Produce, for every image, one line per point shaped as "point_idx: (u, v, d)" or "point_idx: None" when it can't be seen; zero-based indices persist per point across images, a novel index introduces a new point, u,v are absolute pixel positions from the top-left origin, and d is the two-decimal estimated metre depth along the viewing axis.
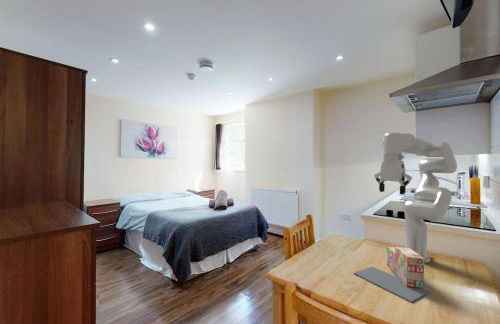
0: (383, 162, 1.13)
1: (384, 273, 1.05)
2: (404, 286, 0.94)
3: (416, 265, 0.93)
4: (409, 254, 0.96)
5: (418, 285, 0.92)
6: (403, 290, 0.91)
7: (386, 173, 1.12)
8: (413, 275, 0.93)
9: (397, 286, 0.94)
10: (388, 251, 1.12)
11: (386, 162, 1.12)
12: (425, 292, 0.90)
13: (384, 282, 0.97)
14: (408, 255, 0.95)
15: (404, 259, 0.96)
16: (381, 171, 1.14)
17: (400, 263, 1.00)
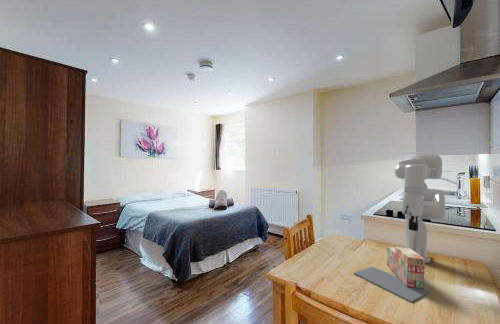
0: (415, 196, 1.03)
1: (384, 273, 1.05)
2: (404, 286, 0.94)
3: (417, 265, 0.93)
4: (410, 254, 0.96)
5: (418, 285, 0.92)
6: (403, 290, 0.91)
7: (417, 208, 1.04)
8: (413, 276, 0.93)
9: (397, 286, 0.94)
10: (388, 251, 1.12)
11: (418, 196, 1.04)
12: (425, 292, 0.90)
13: (384, 282, 0.97)
14: (409, 255, 0.95)
15: (404, 259, 0.96)
16: (414, 206, 1.03)
17: (400, 263, 1.00)
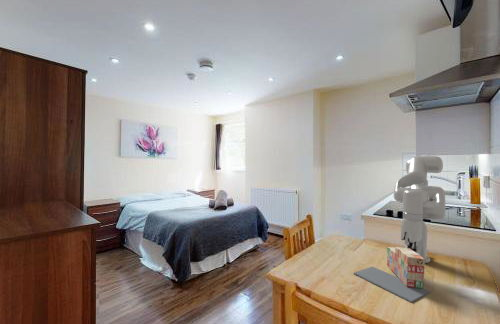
0: (414, 223, 1.03)
1: (384, 273, 1.05)
2: (404, 286, 0.94)
3: (416, 265, 0.93)
4: (409, 254, 0.96)
5: (418, 285, 0.92)
6: (403, 290, 0.91)
7: (416, 235, 1.03)
8: (413, 275, 0.93)
9: (397, 286, 0.94)
10: (388, 251, 1.12)
11: (416, 223, 1.03)
12: (425, 292, 0.90)
13: (384, 282, 0.97)
14: (408, 255, 0.95)
15: (404, 259, 0.96)
16: (412, 233, 1.02)
17: (400, 263, 1.00)
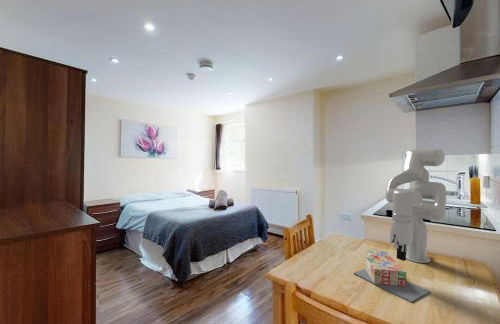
0: (403, 225, 0.99)
1: None
2: None
3: (382, 276, 0.95)
4: (371, 274, 0.99)
5: (403, 276, 0.94)
6: (403, 290, 0.91)
7: (405, 237, 0.99)
8: (393, 280, 0.94)
9: (397, 286, 0.94)
10: None
11: (406, 225, 0.99)
12: (425, 292, 0.90)
13: None
14: (372, 278, 0.97)
15: None
16: (401, 236, 0.98)
17: None
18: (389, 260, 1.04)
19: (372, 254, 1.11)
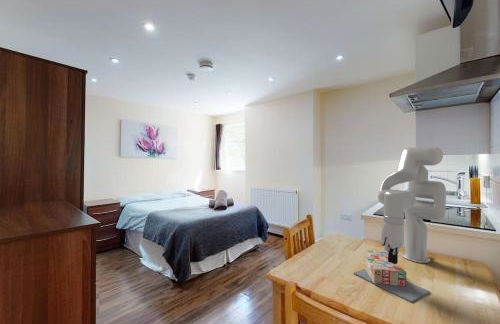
0: (394, 227, 0.95)
1: None
2: None
3: (382, 276, 0.95)
4: (371, 274, 0.99)
5: (403, 276, 0.94)
6: (403, 290, 0.91)
7: (397, 240, 0.96)
8: (393, 280, 0.94)
9: (397, 286, 0.94)
10: None
11: (397, 227, 0.96)
12: (425, 292, 0.90)
13: None
14: (372, 278, 0.97)
15: None
16: (392, 238, 0.95)
17: None
18: None
19: (372, 254, 1.11)
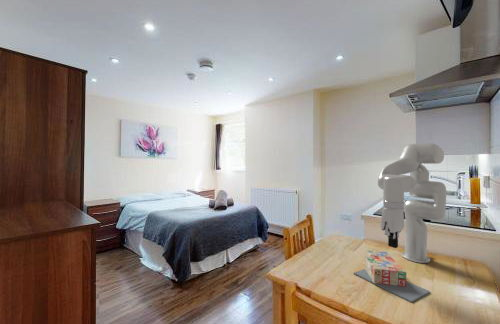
0: (394, 211, 0.95)
1: None
2: None
3: (382, 276, 0.95)
4: (371, 274, 0.99)
5: (403, 276, 0.94)
6: (403, 290, 0.91)
7: (397, 224, 0.96)
8: (393, 280, 0.94)
9: (397, 286, 0.94)
10: None
11: (397, 211, 0.96)
12: (425, 292, 0.90)
13: None
14: (372, 278, 0.97)
15: None
16: (392, 222, 0.95)
17: None
18: (389, 260, 1.04)
19: (372, 254, 1.11)
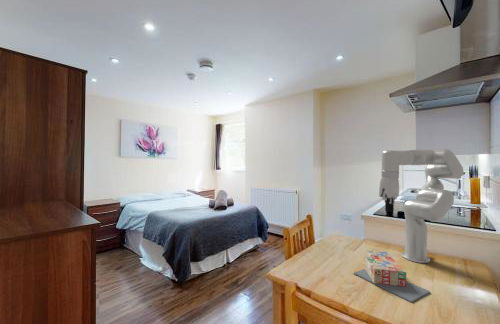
0: (390, 179, 1.11)
1: None
2: None
3: (382, 276, 0.95)
4: (371, 274, 0.99)
5: (403, 276, 0.94)
6: (403, 290, 0.91)
7: (392, 190, 1.12)
8: (393, 280, 0.94)
9: (397, 286, 0.94)
10: None
11: (393, 179, 1.12)
12: (425, 292, 0.90)
13: None
14: (372, 278, 0.97)
15: None
16: (389, 189, 1.11)
17: None
18: (389, 260, 1.04)
19: (372, 254, 1.11)
